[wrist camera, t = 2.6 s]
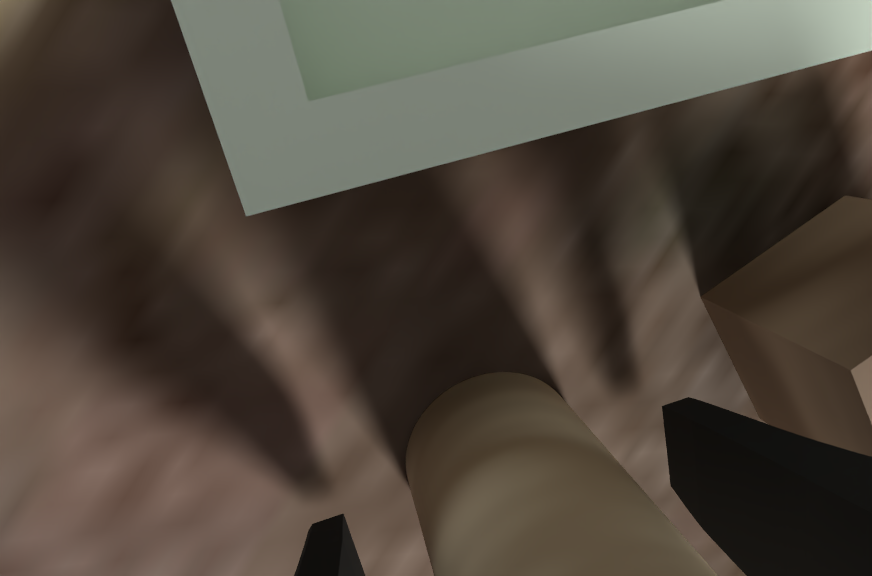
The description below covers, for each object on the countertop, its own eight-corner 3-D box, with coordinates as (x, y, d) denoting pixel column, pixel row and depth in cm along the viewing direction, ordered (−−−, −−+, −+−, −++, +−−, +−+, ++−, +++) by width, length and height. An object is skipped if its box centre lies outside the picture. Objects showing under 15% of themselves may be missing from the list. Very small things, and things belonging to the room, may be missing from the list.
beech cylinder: (428, 549, 14) (514, 857, 8) (385, 404, 12) (453, 654, 7) (585, 494, 14) (768, 747, 9) (560, 349, 13) (759, 538, 7)
